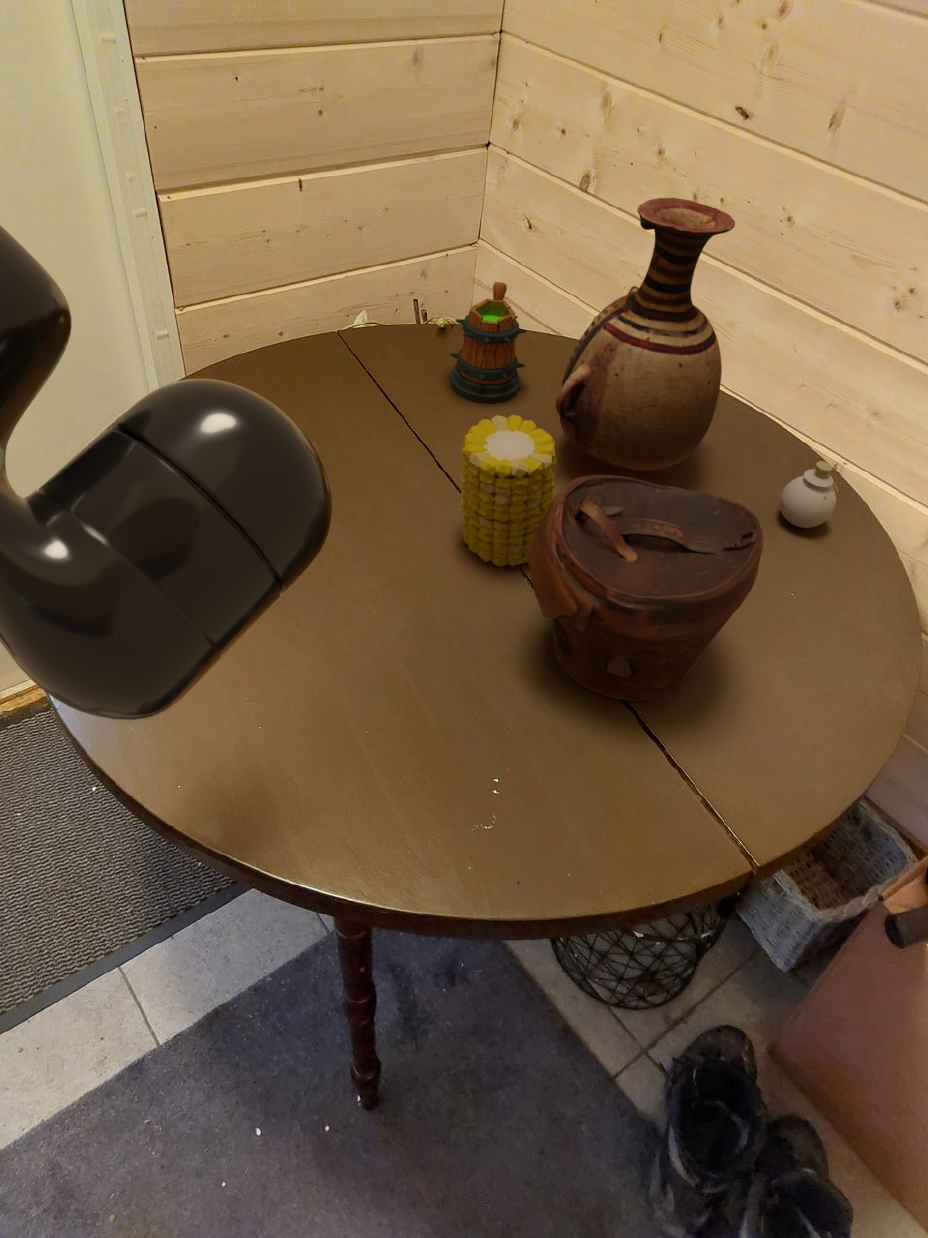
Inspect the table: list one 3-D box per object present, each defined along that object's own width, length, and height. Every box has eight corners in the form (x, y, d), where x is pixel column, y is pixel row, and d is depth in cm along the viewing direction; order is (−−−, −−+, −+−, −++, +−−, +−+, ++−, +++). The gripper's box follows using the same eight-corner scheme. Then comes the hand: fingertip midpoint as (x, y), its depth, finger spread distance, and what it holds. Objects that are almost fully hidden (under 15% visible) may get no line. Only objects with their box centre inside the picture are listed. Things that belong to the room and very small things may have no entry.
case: (488, 606, 84) (508, 460, 71) (661, 575, 90) (710, 435, 77) (553, 746, 73) (592, 603, 60) (748, 702, 78) (822, 562, 65)
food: (557, 558, 93) (485, 593, 88) (498, 484, 97) (426, 515, 93) (599, 467, 80) (517, 504, 76) (528, 387, 84) (447, 418, 80)
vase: (550, 505, 97) (601, 244, 75) (528, 418, 109) (566, 173, 87) (725, 505, 99) (822, 254, 78) (683, 421, 112) (757, 184, 90)
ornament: (814, 506, 100) (848, 437, 93) (834, 547, 95) (872, 477, 88) (766, 504, 100) (796, 434, 93) (784, 545, 95) (817, 474, 88)
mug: (517, 409, 110) (528, 327, 102) (442, 397, 111) (447, 315, 103) (527, 362, 119) (539, 283, 111) (458, 351, 120) (464, 272, 112)
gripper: (257, 471, 42) (216, 515, 57) (-50, 547, 37) (-8, 574, 52) (303, 610, 43) (251, 618, 58) (8, 705, 38) (34, 687, 52)
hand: (129, 597), depth 55 cm, fingers open, 8 cm apart
